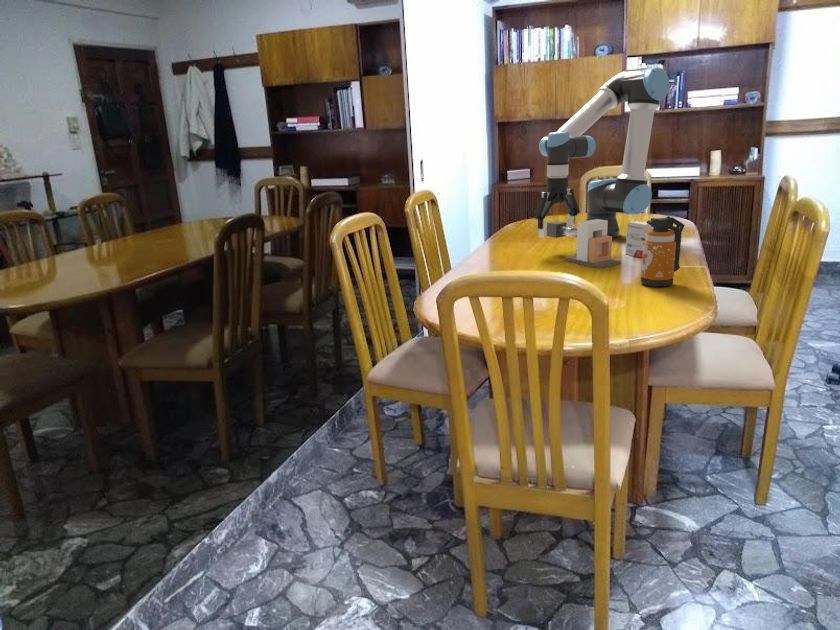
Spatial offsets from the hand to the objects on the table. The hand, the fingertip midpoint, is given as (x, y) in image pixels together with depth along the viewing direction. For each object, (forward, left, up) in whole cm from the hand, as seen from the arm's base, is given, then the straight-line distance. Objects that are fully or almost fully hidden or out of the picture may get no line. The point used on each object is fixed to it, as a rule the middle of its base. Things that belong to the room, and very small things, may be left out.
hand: (556, 235), depth 227 cm
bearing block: (-8, +16, -7) cm, 19 cm away
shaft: (-3, +7, 0) cm, 8 cm away
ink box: (-27, +12, -7) cm, 30 cm away
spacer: (-9, +20, -2) cm, 22 cm away
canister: (-17, +50, -7) cm, 53 cm away
